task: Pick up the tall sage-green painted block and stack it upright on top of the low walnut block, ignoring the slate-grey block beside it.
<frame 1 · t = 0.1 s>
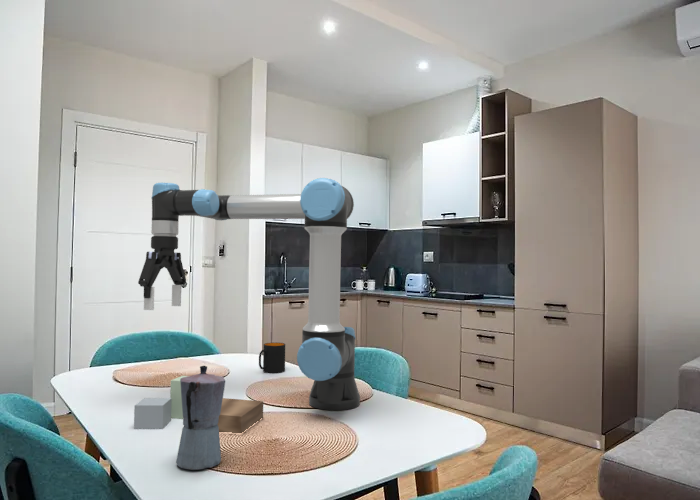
hand: (163, 308, 150), 28 cm above the table, fingers open, 13 cm apart
slate block: (152, 425, 131), on the table
moka pot: (199, 465, 106), on the table
walnut block: (227, 425, 132), on the table
sage block: (185, 415, 139), on the table
mug: (270, 372, 195), on the table
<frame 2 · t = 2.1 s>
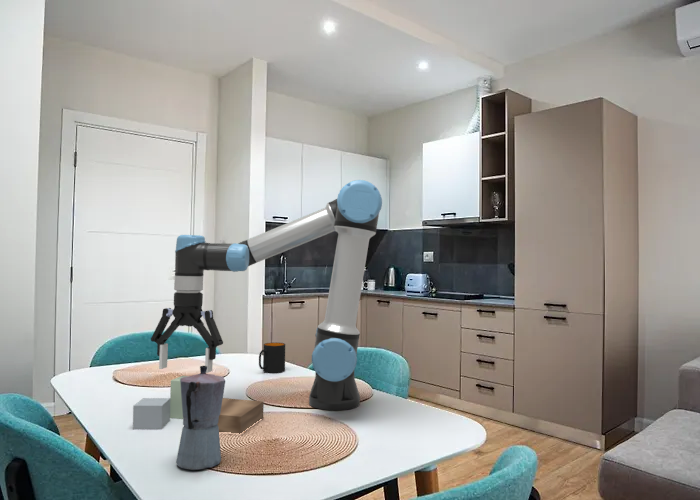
hand: (185, 370, 139), 12 cm above the table, fingers open, 13 cm apart
nothing on the table moved.
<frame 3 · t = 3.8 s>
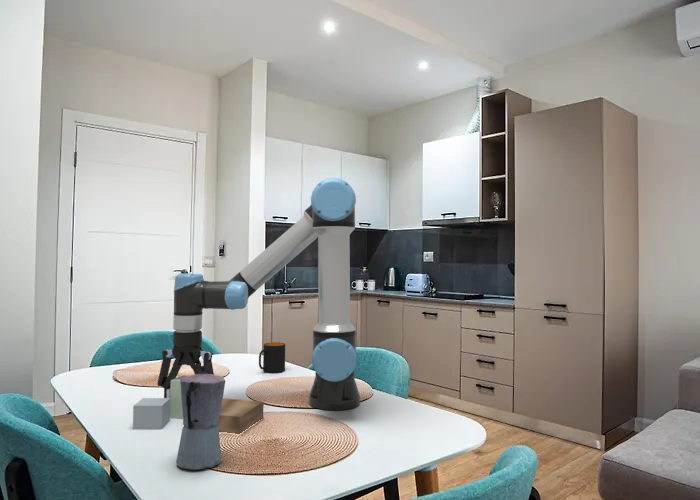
hand: (185, 413, 139), 0 cm above the table, fingers open, 9 cm apart
nothing on the table moved.
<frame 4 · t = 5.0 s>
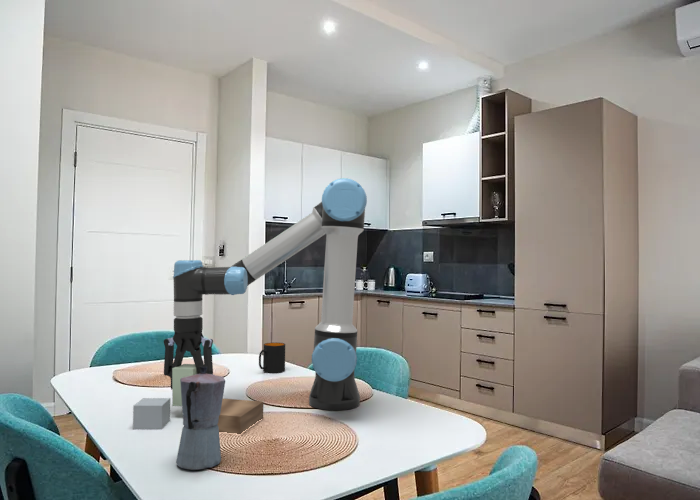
hand: (188, 402, 139), 4 cm above the table, fingers closed on sage block, 6 cm apart
sage block: (188, 403, 139), point 3 cm above the table, touching gripper
everything else where it was.
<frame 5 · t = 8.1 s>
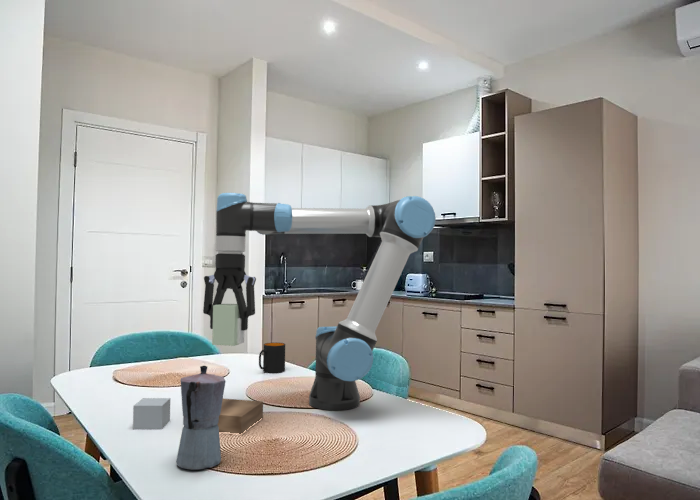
hand: (228, 342, 132), 21 cm above the table, fingers closed on sage block, 6 cm apart
sage block: (228, 343, 132), point 21 cm above the table, touching gripper
everything else where it was.
when the fingers open (7 cm above the table, at t = 11.2 s): sage block drops 2 cm, resting on walnut block.
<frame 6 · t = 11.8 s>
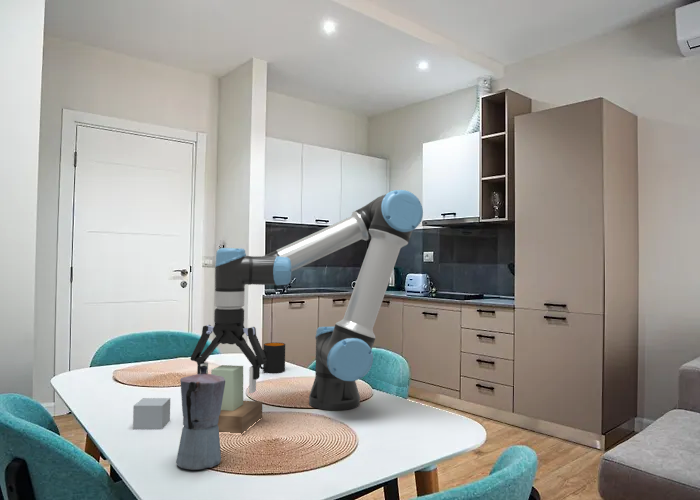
hand: (227, 390, 132), 9 cm above the table, fingers open, 13 cm apart
walnut block: (226, 426, 131), on the table, touching sage block
sage block: (227, 406, 132), point 5 cm above the table, touching walnut block
everything else where it was.
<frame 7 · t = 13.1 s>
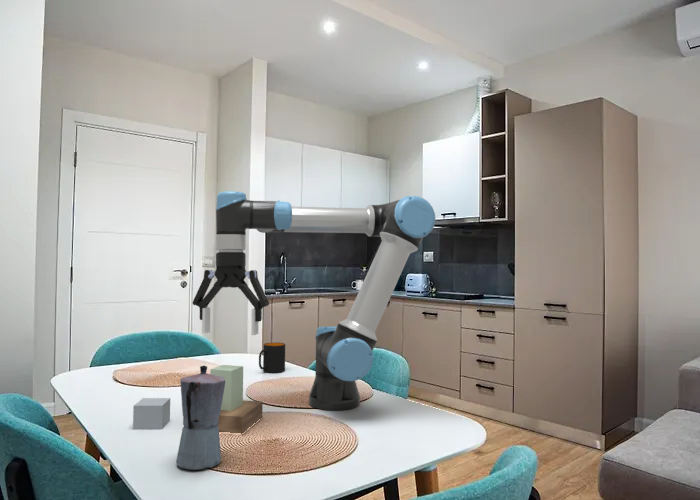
hand: (230, 333, 132), 23 cm above the table, fingers open, 13 cm apart
nothing on the table moved.
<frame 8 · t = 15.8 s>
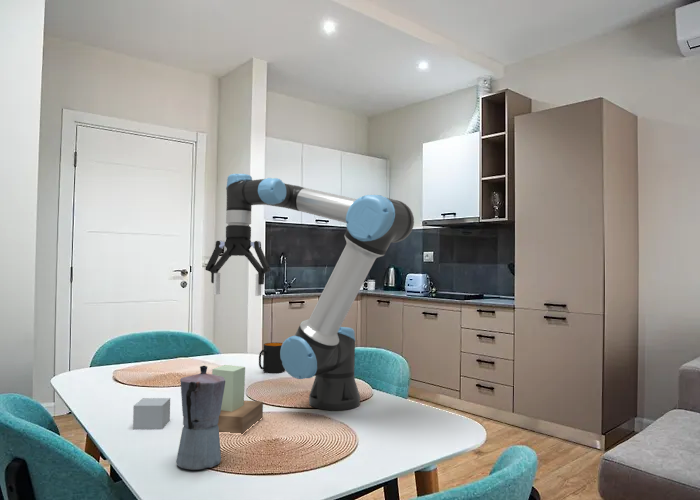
hand: (237, 295, 156), 32 cm above the table, fingers open, 13 cm apart
nothing on the table moved.
at the end: sage block inside the target area on the walnut block (0.1 cm from its centre), point 5.0 cm above the walnut block's base; sage block tilted 0°; the gripper is holding nothing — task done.
